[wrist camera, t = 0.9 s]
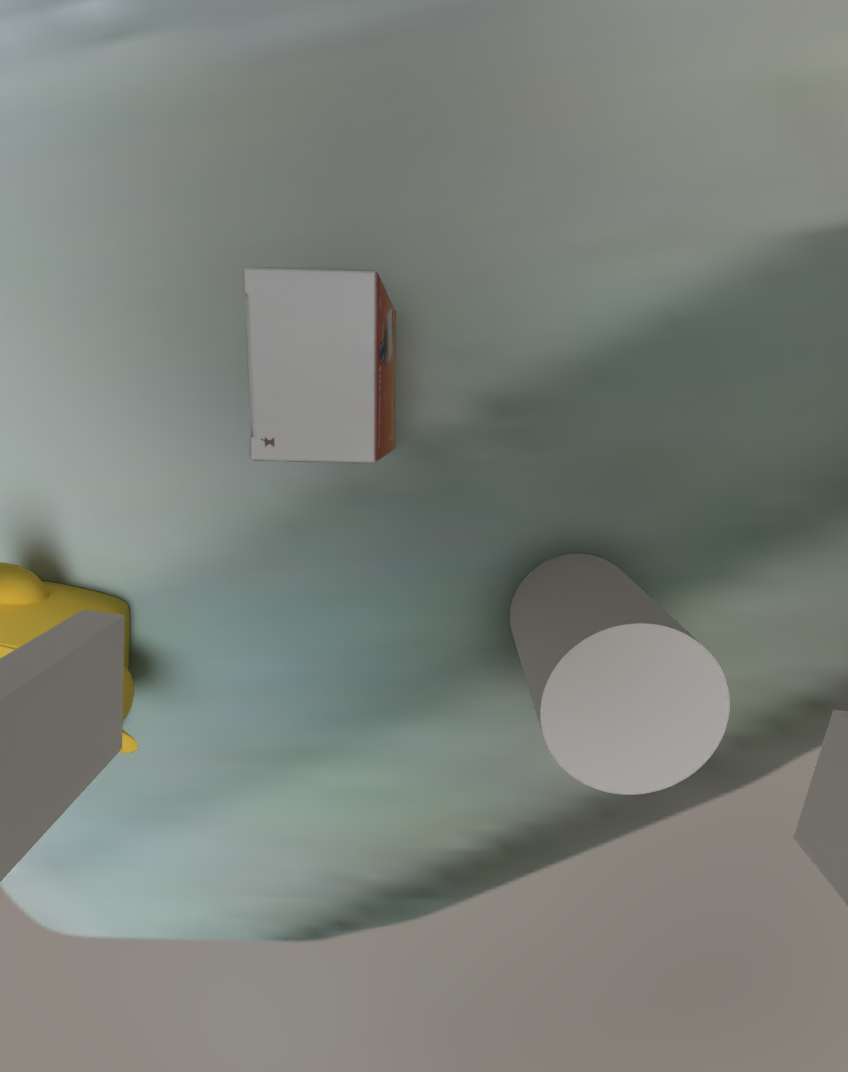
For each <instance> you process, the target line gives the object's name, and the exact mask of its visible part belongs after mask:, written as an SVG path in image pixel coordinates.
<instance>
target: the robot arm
mask: <svg viewBox="0 0 848 1072" xmlns="http://www.w3.org/2000/svg"><path fill="white" fill-rule="evenodd" d="M123 670H124V615H119V614H112V613H104V612H97V611H89V610H82V611H80V612H78V613H77V614H75V615H73V616H72V617H70V618H68V619H66V620H65V621H63V622H61V623H60V624H58V625H56V626H55V627H53V628H51V629H49V630H48V631H46V632H44V633H43V634H41V635H39V636H38V637H36V638H34V639H33V640H31V641H29V642H27V643H26V644H24V645H22V646H21V647H19V648H17V649H16V650H14V651H12V652H11V653H9V654H7V655H5V656H4V657H2V658H0V882H1V880H2V879H3V878H4V877H5V876H6V875H7V874H8V873H9V872H10V871H11V869H12V868H13V867H14V866H15V865H16V864H17V863H18V862H19V861H20V860H21V859H22V857H23V856H24V855H25V854H26V853H27V852H28V851H29V850H30V849H31V848H32V846H33V845H34V844H35V843H36V842H37V841H38V840H39V839H40V838H41V837H42V836H43V834H44V833H45V832H46V831H47V830H48V829H49V828H50V827H51V826H52V825H53V823H54V822H55V821H56V820H57V819H58V818H59V817H60V816H61V815H62V814H63V813H64V811H65V810H66V809H67V808H68V807H69V806H70V805H71V804H72V803H73V802H74V800H75V799H76V798H77V797H78V796H79V795H80V794H81V793H82V792H83V791H84V790H85V788H86V787H87V786H88V785H89V784H90V783H91V782H92V781H93V780H94V779H95V777H96V776H97V775H98V774H99V773H100V772H101V771H102V770H103V769H104V768H105V767H106V765H107V764H108V763H109V762H110V761H111V760H112V759H113V758H114V757H115V756H116V754H117V753H118V752H119V751H120V750H121V749H122V727H123ZM794 839H795V840H796V842H797V843H798V844H799V845H800V847H801V848H802V849H803V850H804V852H805V853H806V854H807V855H808V857H809V858H810V859H811V860H812V862H813V863H814V864H815V865H816V867H817V868H818V869H819V870H820V872H821V873H822V874H823V875H824V877H825V878H826V879H827V880H828V882H829V883H830V884H831V885H832V887H833V888H834V889H835V891H836V892H837V893H838V894H839V895H840V897H841V898H842V899H843V900H844V902H845V903H846V904H847V905H848V712H847V711H840V710H833V713H832V716H831V719H830V723H829V726H828V729H827V732H826V735H825V739H824V742H823V745H822V748H821V751H820V755H819V758H818V761H817V764H816V767H815V771H814V774H813V777H812V780H811V783H810V787H809V790H808V793H807V796H806V800H805V803H804V806H803V809H802V812H801V816H800V819H799V822H798V825H797V828H796V832H795V835H794Z"/></svg>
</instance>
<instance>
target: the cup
mask: <svg viewBox="0 0 848 1072" xmlns="http://www.w3.org/2000/svg"><path fill="white" fill-rule="evenodd" d="M510 627H511V631H512V635H513V638H514V642H515V645H516V648H517V651H518V655H519V658H520V661H521V664H522V668H523V671H524V674H525V677H526V681H527V684H528V687H529V690H530V694H531V697H532V700H533V703H534V706H535V710H536V713H537V716H538V719H539V723H540V726H541V729H542V732H543V736H544V739H545V742H546V744H547V746H548V748H549V750H550V752H551V754H552V755H553V757H554V758H555V760H556V761H557V762H558V763H559V764H560V766H561V767H562V768H563V769H564V770H565V771H566V772H568V773H569V774H570V775H571V776H573V777H574V778H575V779H577V780H578V781H580V782H582V783H584V784H586V785H588V786H590V787H592V788H595V789H598V790H601V791H605V792H609V793H615V794H644V793H650V792H654V791H658V790H662V789H664V788H667V787H670V786H672V785H674V784H676V783H678V782H680V781H682V780H684V779H685V778H687V777H689V776H690V775H691V774H693V773H694V772H695V771H697V770H698V769H699V768H700V767H701V766H702V765H703V764H704V763H705V762H706V761H707V760H708V759H709V758H710V756H711V755H712V754H713V753H714V751H715V750H716V748H717V746H718V745H719V743H720V741H721V739H722V737H723V735H724V732H725V729H726V726H727V723H728V718H729V710H730V698H729V690H728V686H727V682H726V679H725V676H724V674H723V672H722V669H721V668H720V666H719V664H718V663H717V661H716V660H715V658H714V657H713V656H712V655H711V653H710V652H709V651H708V650H707V649H706V648H705V647H704V646H703V645H702V644H701V643H699V642H698V641H697V640H696V639H695V638H694V637H693V636H692V635H691V634H690V633H689V632H688V631H687V630H685V629H684V628H683V627H682V626H681V625H680V624H679V623H678V622H677V621H676V620H675V619H674V618H673V617H671V616H670V615H669V614H668V613H667V612H666V611H665V610H664V609H663V608H662V607H661V606H660V605H659V604H657V603H656V602H655V601H654V600H653V599H652V598H651V597H650V596H649V595H648V594H647V593H646V592H645V591H643V590H642V589H641V588H640V587H639V586H638V585H637V584H636V583H635V582H634V581H633V580H632V579H631V578H629V577H628V576H627V575H626V574H625V573H624V572H623V571H622V570H621V569H620V568H618V567H617V566H616V565H614V564H613V563H611V562H609V561H607V560H605V559H603V558H601V557H597V556H594V555H589V554H567V555H562V556H558V557H555V558H552V559H549V560H547V561H545V562H544V563H542V564H540V565H539V566H537V567H536V568H535V569H533V570H532V571H531V572H530V573H529V574H528V575H527V576H526V577H525V578H524V579H523V581H522V582H521V583H520V585H519V587H518V588H517V590H516V592H515V594H514V597H513V600H512V603H511V608H510Z"/></svg>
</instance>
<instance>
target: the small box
mask: <svg viewBox="0 0 848 1072" xmlns="http://www.w3.org/2000/svg"><path fill="white" fill-rule="evenodd" d="M243 279H244V291H245V303H246V321H247V345H248V369H249V398H250V459H251V460H253V461H289V462H339V463H375V462H377V461H378V460H380V459H381V458H382V457H384V456H385V455H387V454H388V453H389V452H391V451H392V450H393V449H394V448H395V411H394V410H395V353H396V311H395V309H394V308H393V305H392V303H391V301H390V299H389V297H388V295H387V293H386V290H385V288H384V286H383V284H382V282H381V279H380V277H379V275H378V273H377V272H376V271H368V270H340V269H305V268H271V267H245V268H244V269H243Z"/></svg>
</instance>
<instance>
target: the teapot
mask: <svg viewBox="0 0 848 1072" xmlns="http://www.w3.org/2000/svg"><path fill="white" fill-rule="evenodd" d="M82 610H89V611H97V612H104V613H112V614H119V615H124V670H123V720H124V719H125V718H126V716H127V714H128V713H129V711H130V708H131V706H132V702H133V696H134V684H133V680H132V676H131V674H130V672H129V671H128V670H129V648H130V611H129V606H128V604H127V603H126V602H125V601H123V600H122V599H119V598H117V597H114V596H111V595H107V594H104V593H100V592H96V591H92V590H88V589H83V588H79V587H75V586H70V585H65V584H60V583H55V582H48V581H41V580H40V579H39V578H38V577H37V576H36V575H35V574H34V573H33V572H31V571H29V570H27V569H26V568H23V567H21V566H17V565H12V564H8V563H0V658H2V657H4V656H5V655H7V654H9V653H11V652H12V651H14V650H16V649H17V648H19V647H21V646H22V645H24V644H26V643H27V642H29V641H31V640H33V639H34V638H36V637H38V636H39V635H41V634H43V633H44V632H46V631H48V630H49V629H51V628H53V627H55V626H56V625H58V624H60V623H61V622H63V621H65V620H66V619H68V618H70V617H72V616H73V615H75V614H77V613H78V612H80V611H82ZM137 747H138V745H137V742H136V741H135V739H134V738H132V737H131V736H130V735H129V734H128V733H126V732H125V731H124V730H123V729H122V749H121V750H120V751H119V752H121V753H132V752H135V751H136V750H137Z"/></svg>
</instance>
